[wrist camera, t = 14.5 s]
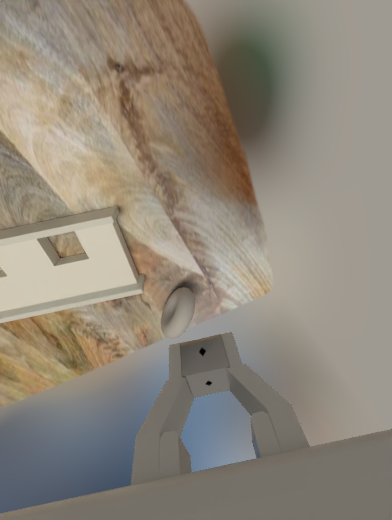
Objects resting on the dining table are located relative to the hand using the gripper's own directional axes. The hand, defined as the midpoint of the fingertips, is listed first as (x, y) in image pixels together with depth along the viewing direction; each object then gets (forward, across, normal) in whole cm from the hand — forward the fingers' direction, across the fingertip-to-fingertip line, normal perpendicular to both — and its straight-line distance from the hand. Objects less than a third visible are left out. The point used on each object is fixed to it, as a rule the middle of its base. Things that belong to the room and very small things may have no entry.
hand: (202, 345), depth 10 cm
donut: (+29, +5, +22) cm, 37 cm away
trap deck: (+29, +29, +8) cm, 42 cm away
